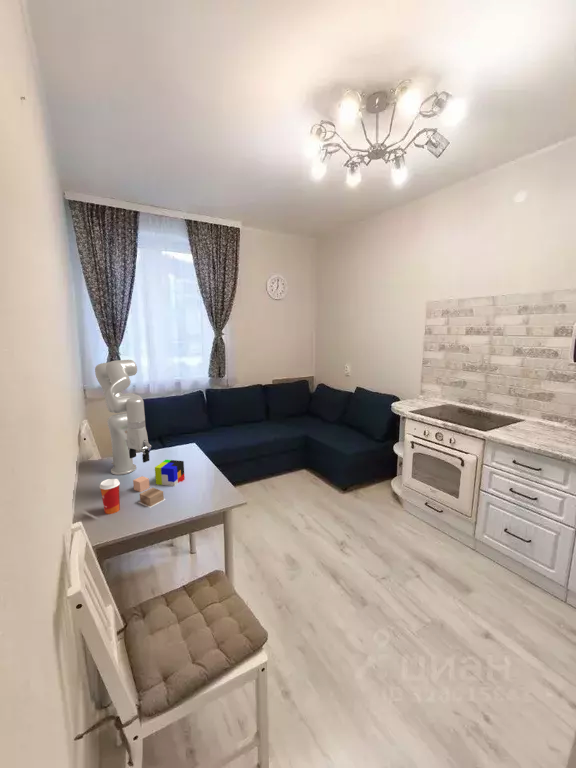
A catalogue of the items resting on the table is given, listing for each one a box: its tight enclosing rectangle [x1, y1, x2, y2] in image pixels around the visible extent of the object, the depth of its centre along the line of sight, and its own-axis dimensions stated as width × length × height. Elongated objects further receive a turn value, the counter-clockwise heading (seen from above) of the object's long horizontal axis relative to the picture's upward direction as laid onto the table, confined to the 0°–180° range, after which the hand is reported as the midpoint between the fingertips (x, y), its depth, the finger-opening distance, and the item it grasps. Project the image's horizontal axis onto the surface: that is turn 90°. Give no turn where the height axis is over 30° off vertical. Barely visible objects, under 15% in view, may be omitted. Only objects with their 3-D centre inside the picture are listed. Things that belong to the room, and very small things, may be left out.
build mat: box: [137, 498, 167, 509], centre depth 158 cm, size 16×12×1 cm
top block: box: [132, 475, 151, 493], centre depth 167 cm, size 5×5×6 cm
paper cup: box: [99, 478, 121, 515], centre depth 147 cm, size 8×8×14 cm
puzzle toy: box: [154, 459, 186, 487], centre depth 175 cm, size 10×10×10 cm
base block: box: [139, 487, 165, 507], centre depth 156 cm, size 7×7×4 cm
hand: (139, 459), depth 165 cm, fingers open, 9 cm apart
